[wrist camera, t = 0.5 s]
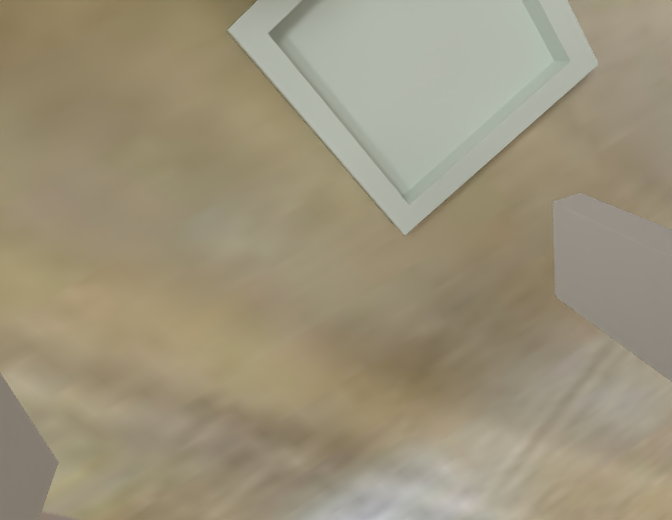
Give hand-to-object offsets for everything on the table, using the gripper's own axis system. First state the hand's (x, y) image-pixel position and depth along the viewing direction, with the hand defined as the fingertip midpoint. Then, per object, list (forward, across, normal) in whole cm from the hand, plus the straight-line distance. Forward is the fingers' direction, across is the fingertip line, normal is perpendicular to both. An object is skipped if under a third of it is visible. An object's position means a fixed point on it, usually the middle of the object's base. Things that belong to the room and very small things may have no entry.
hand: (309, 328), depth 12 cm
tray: (+25, +13, +3) cm, 28 cm away
